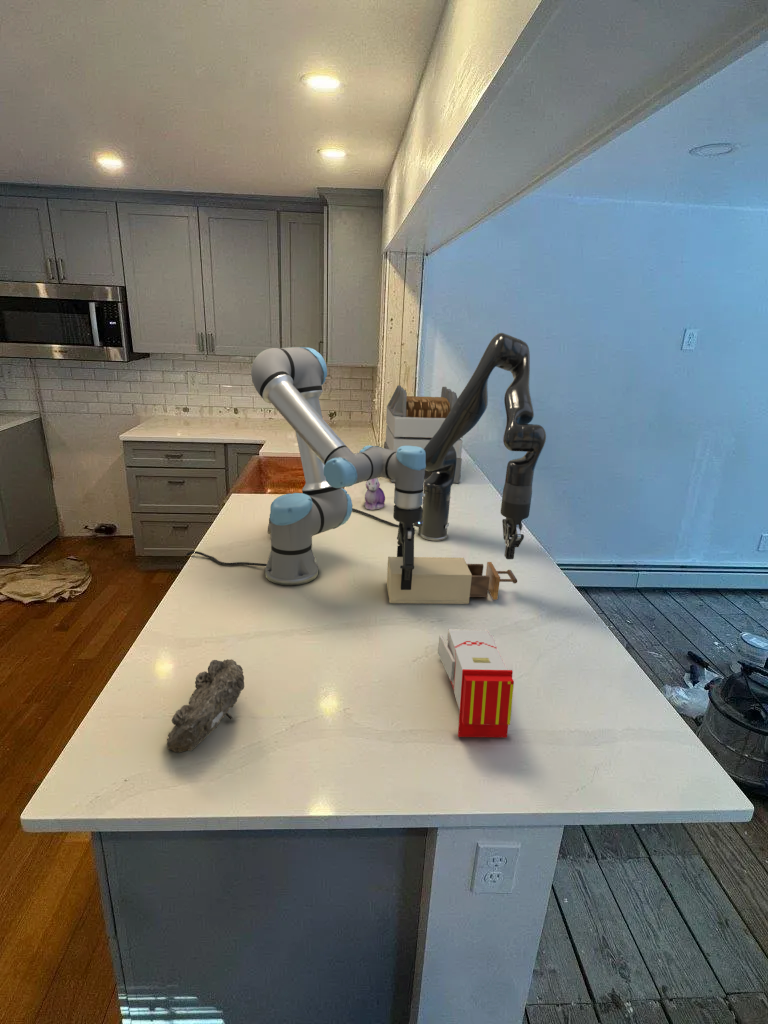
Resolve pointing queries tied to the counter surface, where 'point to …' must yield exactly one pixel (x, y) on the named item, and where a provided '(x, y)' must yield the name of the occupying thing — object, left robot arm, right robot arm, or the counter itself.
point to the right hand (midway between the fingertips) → (508, 558)
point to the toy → (478, 682)
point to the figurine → (374, 495)
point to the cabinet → (430, 581)
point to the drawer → (487, 580)
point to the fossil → (206, 705)
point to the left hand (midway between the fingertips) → (403, 577)
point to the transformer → (418, 421)
